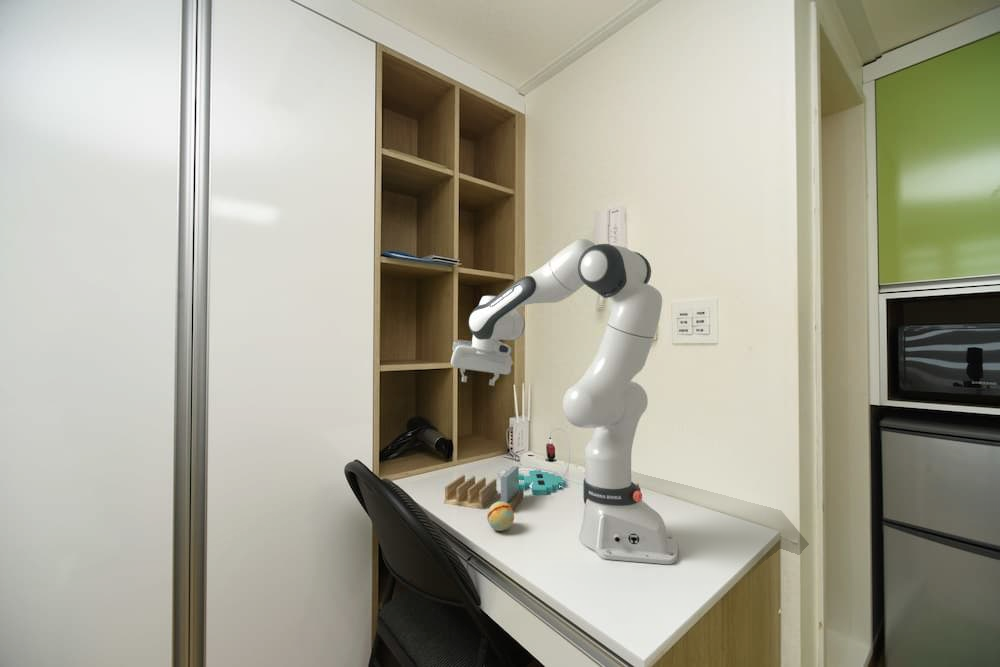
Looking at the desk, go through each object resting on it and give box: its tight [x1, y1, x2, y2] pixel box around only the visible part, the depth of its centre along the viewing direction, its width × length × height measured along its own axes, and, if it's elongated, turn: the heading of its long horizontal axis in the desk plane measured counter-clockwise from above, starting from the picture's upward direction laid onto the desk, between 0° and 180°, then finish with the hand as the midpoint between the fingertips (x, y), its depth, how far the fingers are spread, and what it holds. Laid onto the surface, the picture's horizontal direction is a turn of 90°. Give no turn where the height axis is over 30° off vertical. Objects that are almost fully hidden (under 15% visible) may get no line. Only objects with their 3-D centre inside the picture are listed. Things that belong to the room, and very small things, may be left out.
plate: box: [500, 465, 520, 503], centre depth 116 cm, size 2×11×10 cm, turn 159°
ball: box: [486, 501, 515, 532], centre depth 100 cm, size 7×7×7 cm
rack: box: [443, 474, 499, 510], centre depth 121 cm, size 13×12×5 cm
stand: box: [496, 490, 525, 512], centre depth 116 cm, size 5×12×2 cm, turn 159°
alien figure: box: [504, 469, 565, 496], centre depth 133 cm, size 20×2×20 cm
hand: (477, 383), depth 128 cm, fingers open, 8 cm apart
